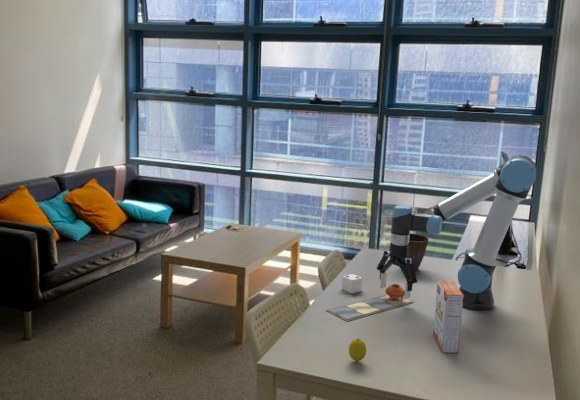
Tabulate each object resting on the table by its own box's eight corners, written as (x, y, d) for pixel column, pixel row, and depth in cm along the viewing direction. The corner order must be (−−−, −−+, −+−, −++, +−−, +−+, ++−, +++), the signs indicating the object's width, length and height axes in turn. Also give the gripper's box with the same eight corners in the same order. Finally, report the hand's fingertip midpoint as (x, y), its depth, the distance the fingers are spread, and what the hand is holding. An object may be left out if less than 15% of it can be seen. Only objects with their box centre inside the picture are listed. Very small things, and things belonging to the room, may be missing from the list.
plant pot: (393, 263, 287) (396, 232, 284) (424, 265, 285) (427, 234, 282) (395, 272, 273) (397, 240, 269) (426, 275, 271) (430, 242, 268)
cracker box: (431, 335, 205) (437, 279, 201) (448, 335, 205) (454, 280, 201) (440, 353, 192) (446, 293, 187) (458, 354, 191) (464, 294, 187)
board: (413, 302, 236) (413, 301, 235) (346, 321, 214) (347, 320, 214) (392, 293, 245) (392, 292, 245) (326, 310, 223) (326, 309, 223)
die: (361, 291, 246) (362, 277, 245) (351, 293, 243) (352, 280, 242) (352, 286, 251) (352, 273, 250) (341, 289, 247) (342, 276, 246)
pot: (403, 295, 241) (405, 281, 238) (404, 306, 234) (406, 292, 231) (383, 293, 242) (385, 279, 239) (384, 304, 235) (386, 290, 232)
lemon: (346, 357, 186) (348, 334, 184) (363, 357, 186) (365, 334, 184) (349, 365, 180) (351, 342, 179) (367, 365, 181) (368, 342, 179)
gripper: (370, 236, 240) (366, 284, 244) (416, 252, 220) (411, 304, 225) (383, 234, 244) (379, 281, 249) (429, 250, 225) (424, 300, 229)
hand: (394, 292), depth 237 cm, fingers open, 13 cm apart
